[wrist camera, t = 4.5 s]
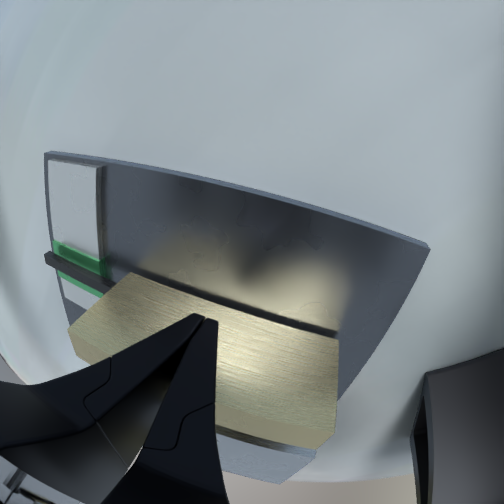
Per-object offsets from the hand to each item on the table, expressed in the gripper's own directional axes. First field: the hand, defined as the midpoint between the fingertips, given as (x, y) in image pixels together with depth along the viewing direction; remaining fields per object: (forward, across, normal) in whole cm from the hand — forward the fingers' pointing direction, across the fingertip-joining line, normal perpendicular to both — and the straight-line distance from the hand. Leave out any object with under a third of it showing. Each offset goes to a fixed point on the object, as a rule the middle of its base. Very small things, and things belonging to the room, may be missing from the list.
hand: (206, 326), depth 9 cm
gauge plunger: (+3, +3, +5) cm, 6 cm away
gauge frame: (+4, +2, +4) cm, 6 cm away
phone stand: (+4, -16, +5) cm, 17 cm away
